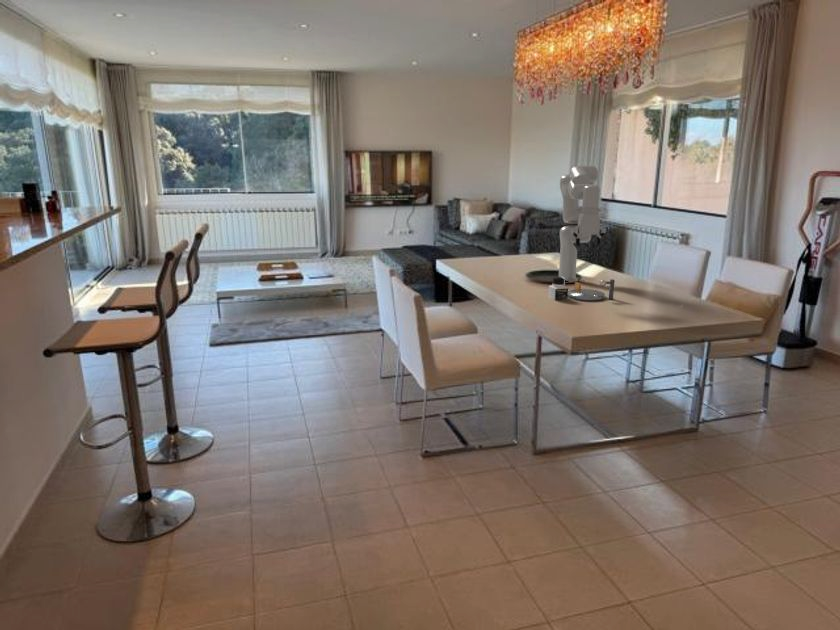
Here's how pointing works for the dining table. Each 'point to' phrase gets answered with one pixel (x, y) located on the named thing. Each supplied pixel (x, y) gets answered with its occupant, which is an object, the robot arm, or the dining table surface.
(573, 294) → the disc
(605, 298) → the base
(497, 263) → the dining table surface
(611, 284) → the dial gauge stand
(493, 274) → the dining table surface
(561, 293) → the medicine bottle
